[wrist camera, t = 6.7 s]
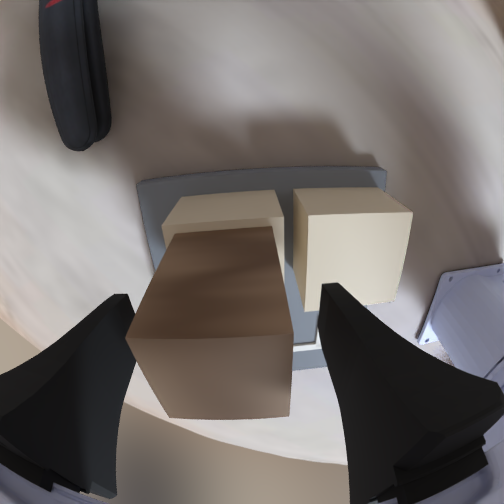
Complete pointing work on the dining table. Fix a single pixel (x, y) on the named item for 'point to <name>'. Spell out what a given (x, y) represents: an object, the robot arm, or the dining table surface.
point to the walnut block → (217, 327)
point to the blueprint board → (248, 178)
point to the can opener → (75, 70)
